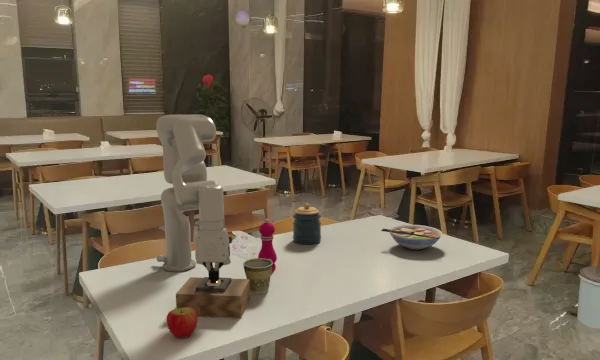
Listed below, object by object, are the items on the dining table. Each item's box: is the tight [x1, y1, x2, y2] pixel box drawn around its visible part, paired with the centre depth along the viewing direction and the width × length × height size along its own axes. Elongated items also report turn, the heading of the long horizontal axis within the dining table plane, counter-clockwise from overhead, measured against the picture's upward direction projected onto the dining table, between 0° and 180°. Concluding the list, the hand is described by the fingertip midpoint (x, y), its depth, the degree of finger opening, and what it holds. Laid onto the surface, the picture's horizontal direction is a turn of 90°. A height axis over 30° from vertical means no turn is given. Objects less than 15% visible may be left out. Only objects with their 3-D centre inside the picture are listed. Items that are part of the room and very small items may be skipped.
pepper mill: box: [257, 218, 278, 272], centre depth 190 cm, size 7×7×20 cm
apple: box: [166, 304, 199, 339], centre depth 138 cm, size 8×8×10 cm
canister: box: [292, 203, 322, 245], centre depth 227 cm, size 13×13×18 cm
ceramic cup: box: [243, 257, 273, 295], centre depth 171 cm, size 13×10×10 cm
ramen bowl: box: [380, 224, 443, 251], centre depth 217 cm, size 25×23×8 cm
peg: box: [207, 280, 221, 286], centre depth 156 cm, size 4×4×8 cm
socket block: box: [175, 276, 251, 319], centre depth 156 cm, size 20×14×8 cm
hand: (214, 281), depth 155 cm, fingers closed
